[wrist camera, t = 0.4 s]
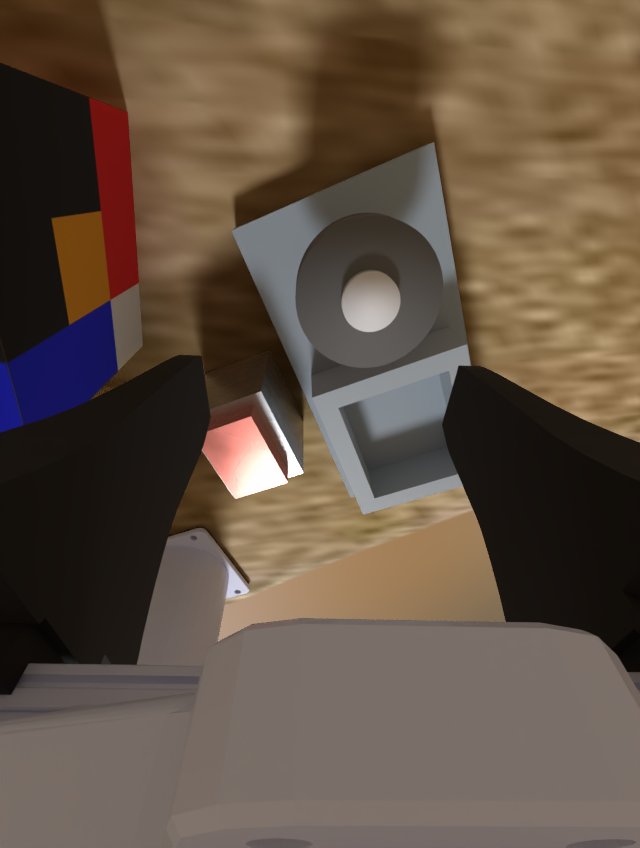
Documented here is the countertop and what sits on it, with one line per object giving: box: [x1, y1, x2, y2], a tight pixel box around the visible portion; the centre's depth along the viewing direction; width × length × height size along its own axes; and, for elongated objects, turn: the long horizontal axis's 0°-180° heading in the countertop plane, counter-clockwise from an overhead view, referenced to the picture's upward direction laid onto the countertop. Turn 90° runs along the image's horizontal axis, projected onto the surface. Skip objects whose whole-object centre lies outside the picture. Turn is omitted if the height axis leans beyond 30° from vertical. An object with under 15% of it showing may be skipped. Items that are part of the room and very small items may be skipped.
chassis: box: [231, 142, 472, 515], centre depth 20 cm, size 9×17×4 cm, turn 20°
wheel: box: [295, 213, 443, 368], centre depth 14 cm, size 5×5×2 cm
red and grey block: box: [202, 349, 303, 499], centre depth 20 cm, size 4×5×6 cm
